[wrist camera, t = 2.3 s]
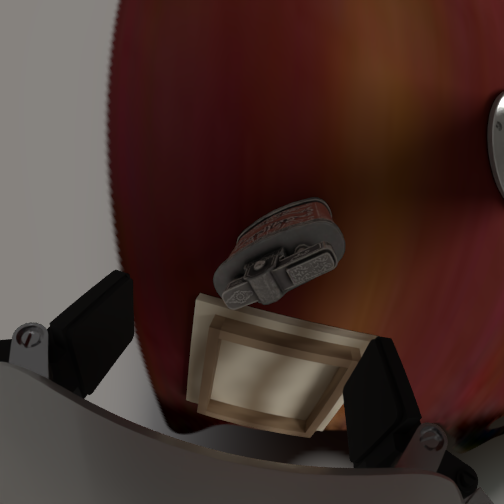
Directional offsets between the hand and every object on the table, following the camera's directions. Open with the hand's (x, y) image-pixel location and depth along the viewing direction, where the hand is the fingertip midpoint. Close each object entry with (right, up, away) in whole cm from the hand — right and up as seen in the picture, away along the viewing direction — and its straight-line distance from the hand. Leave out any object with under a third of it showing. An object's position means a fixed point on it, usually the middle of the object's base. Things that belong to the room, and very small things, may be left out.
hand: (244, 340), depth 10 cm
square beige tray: (+2, -10, +18) cm, 21 cm away
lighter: (+3, +5, +13) cm, 14 cm away
